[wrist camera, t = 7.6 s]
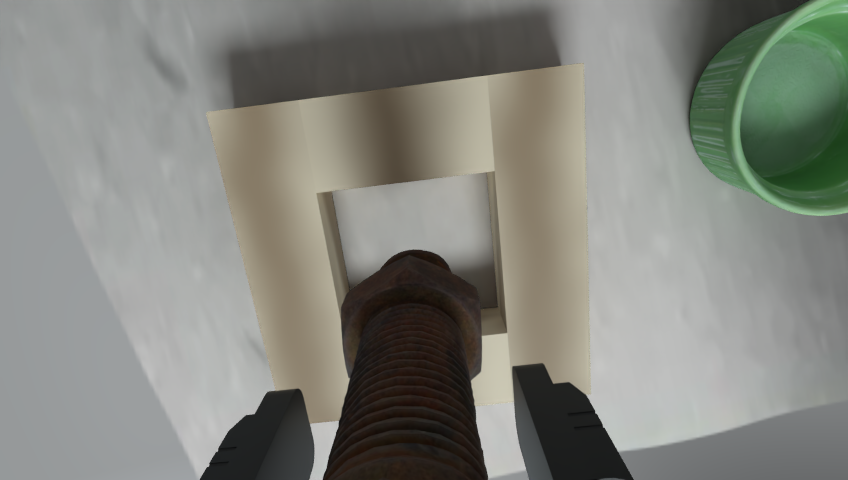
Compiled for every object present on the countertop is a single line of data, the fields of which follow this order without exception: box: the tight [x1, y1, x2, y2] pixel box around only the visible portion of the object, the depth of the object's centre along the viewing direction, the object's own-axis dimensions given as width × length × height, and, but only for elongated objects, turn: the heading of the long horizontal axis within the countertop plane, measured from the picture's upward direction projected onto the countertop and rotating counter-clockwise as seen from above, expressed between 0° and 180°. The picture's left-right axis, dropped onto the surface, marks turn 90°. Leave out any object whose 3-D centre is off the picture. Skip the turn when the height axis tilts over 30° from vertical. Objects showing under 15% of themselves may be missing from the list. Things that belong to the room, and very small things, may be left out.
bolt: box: [323, 250, 488, 480], centre depth 12 cm, size 6×5×15 cm
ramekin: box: [690, 0, 848, 216], centre depth 20 cm, size 9×9×4 cm
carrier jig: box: [206, 63, 591, 423], centre depth 23 cm, size 16×16×3 cm
